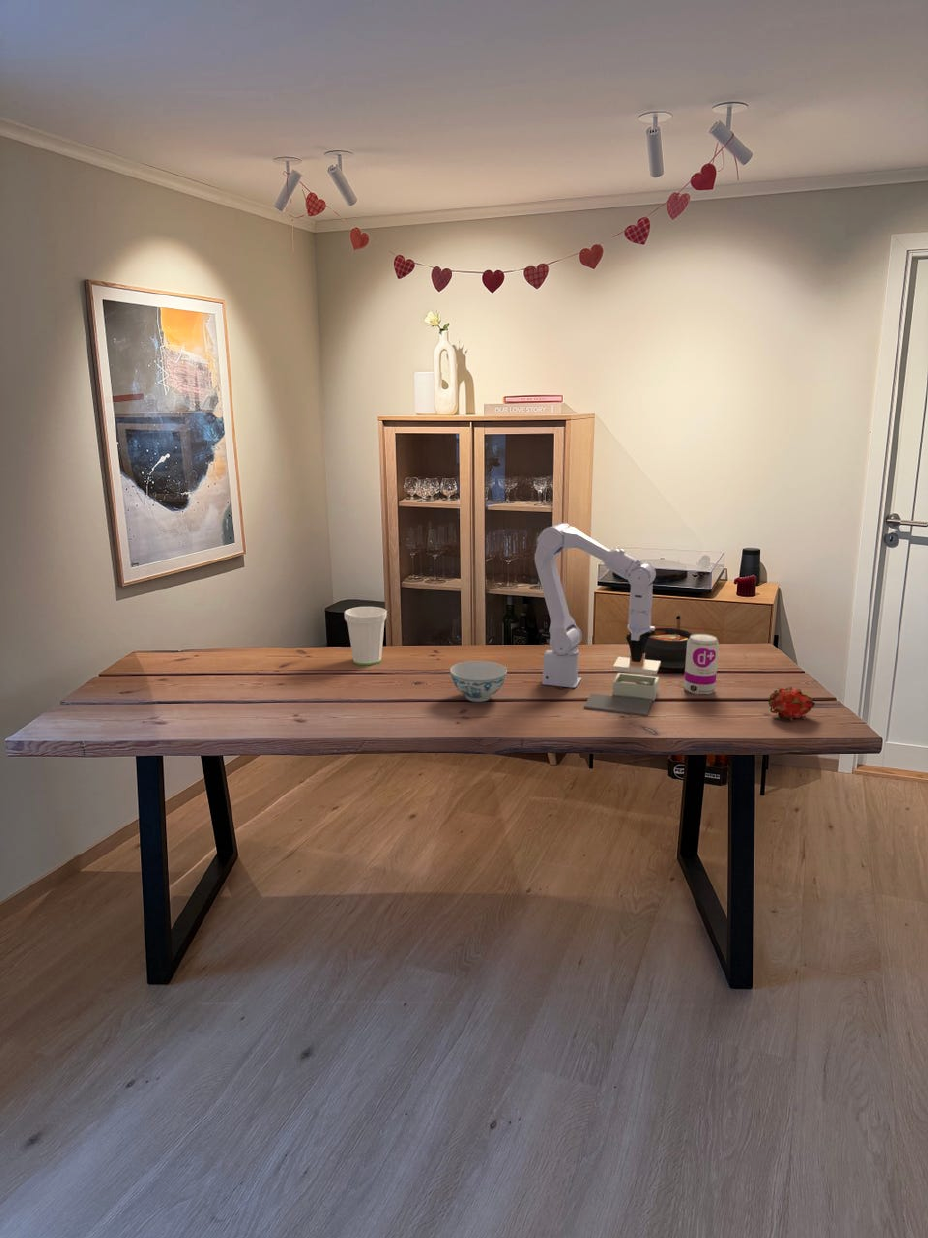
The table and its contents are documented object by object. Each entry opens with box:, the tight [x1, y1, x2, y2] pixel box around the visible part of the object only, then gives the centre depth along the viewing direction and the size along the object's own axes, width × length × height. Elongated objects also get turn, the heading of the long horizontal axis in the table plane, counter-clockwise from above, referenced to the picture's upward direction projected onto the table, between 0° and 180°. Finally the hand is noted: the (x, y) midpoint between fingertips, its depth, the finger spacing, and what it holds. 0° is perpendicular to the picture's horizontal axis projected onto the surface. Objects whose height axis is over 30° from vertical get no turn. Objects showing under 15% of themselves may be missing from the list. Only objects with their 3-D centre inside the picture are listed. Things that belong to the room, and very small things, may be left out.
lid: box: [612, 653, 661, 676], centre depth 229 cm, size 11×8×4 cm
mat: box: [583, 693, 653, 717], centre depth 223 cm, size 16×10×1 cm, turn 71°
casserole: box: [644, 627, 694, 670], centre depth 258 cm, size 25×19×8 cm
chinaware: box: [449, 660, 508, 703], centre depth 227 cm, size 15×15×8 cm
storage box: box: [611, 672, 660, 702], centre depth 231 cm, size 11×8×4 cm
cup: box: [344, 606, 387, 666], centre depth 256 cm, size 12×12×15 cm
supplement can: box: [683, 633, 720, 695], centre depth 232 cm, size 8×8×15 cm
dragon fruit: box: [768, 686, 816, 721], centre depth 215 cm, size 8×8×12 cm
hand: (637, 659), depth 229 cm, fingers closed on lid, 3 cm apart
